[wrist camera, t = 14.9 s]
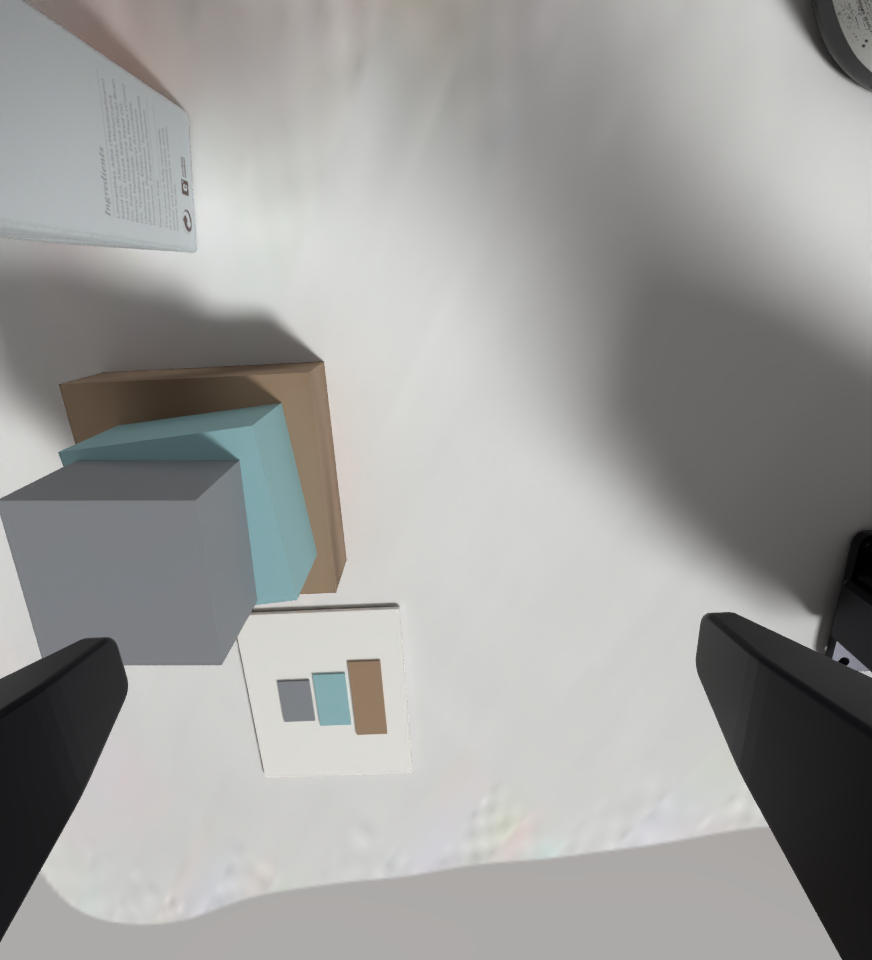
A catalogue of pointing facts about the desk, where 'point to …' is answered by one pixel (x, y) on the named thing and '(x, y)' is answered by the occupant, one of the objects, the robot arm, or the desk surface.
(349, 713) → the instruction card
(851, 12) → the ink bottle
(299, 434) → the base block
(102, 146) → the skincare box
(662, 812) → the desk surface
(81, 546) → the grey block
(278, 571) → the teal block
